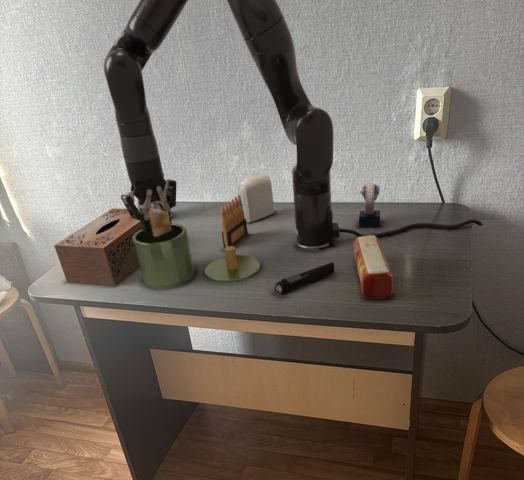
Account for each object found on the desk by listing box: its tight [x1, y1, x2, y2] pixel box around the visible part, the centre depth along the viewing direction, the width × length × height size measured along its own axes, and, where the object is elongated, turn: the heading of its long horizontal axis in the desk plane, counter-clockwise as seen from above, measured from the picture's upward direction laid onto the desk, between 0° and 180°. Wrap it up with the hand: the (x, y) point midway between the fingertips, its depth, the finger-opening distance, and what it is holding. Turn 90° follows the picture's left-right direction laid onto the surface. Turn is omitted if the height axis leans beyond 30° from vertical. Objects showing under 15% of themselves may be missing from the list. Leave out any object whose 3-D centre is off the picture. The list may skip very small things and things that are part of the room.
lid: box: [204, 246, 261, 283], centre depth 124 cm, size 14×14×6 cm
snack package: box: [352, 234, 394, 300], centre depth 114 cm, size 21×7×7 cm, turn 177°
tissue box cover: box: [53, 207, 155, 287], centre depth 135 cm, size 26×14×10 cm, turn 161°
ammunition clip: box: [220, 193, 249, 249], centre depth 137 cm, size 11×2×12 cm, turn 153°
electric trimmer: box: [274, 261, 335, 296], centre depth 116 cm, size 4×16×3 cm, turn 121°
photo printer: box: [238, 174, 275, 223], centre depth 152 cm, size 10×4×12 cm, turn 127°
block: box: [149, 209, 172, 237], centre depth 119 cm, size 4×4×4 cm
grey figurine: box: [358, 182, 381, 229], centre depth 139 cm, size 6×8×11 cm
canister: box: [132, 223, 195, 288], centre depth 124 cm, size 13×13×12 cm
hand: (158, 230), depth 120 cm, fingers closed on block, 4 cm apart
